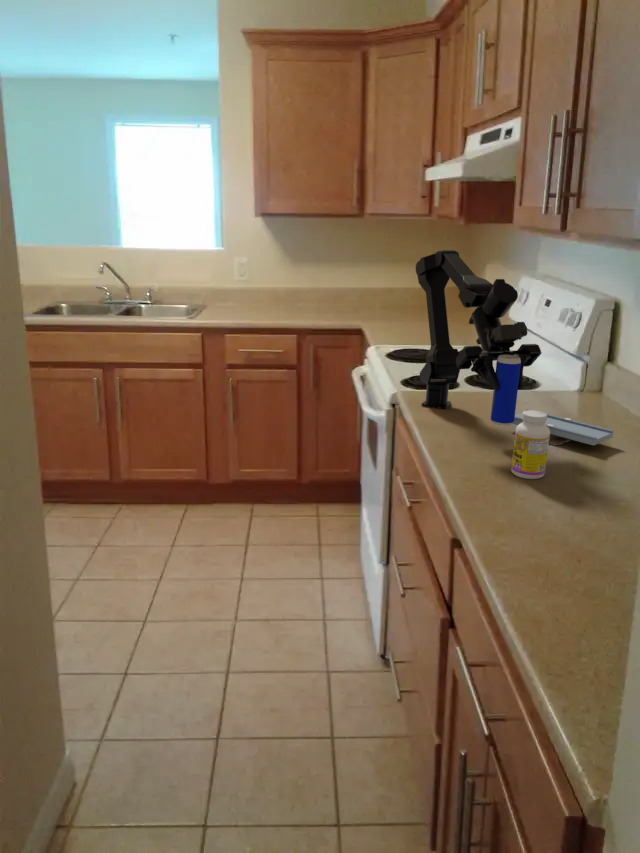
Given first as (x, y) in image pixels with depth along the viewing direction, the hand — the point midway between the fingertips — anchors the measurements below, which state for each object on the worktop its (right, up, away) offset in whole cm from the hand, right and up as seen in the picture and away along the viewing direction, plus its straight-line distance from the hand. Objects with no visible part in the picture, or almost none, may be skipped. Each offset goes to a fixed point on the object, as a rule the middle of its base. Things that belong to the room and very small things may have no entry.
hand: (509, 389), depth 164 cm
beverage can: (-1, -8, +4) cm, 8 cm away
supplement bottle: (+1, -18, -12) cm, 22 cm away
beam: (+14, -9, +11) cm, 20 cm away
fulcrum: (+14, -11, +11) cm, 21 cm away
